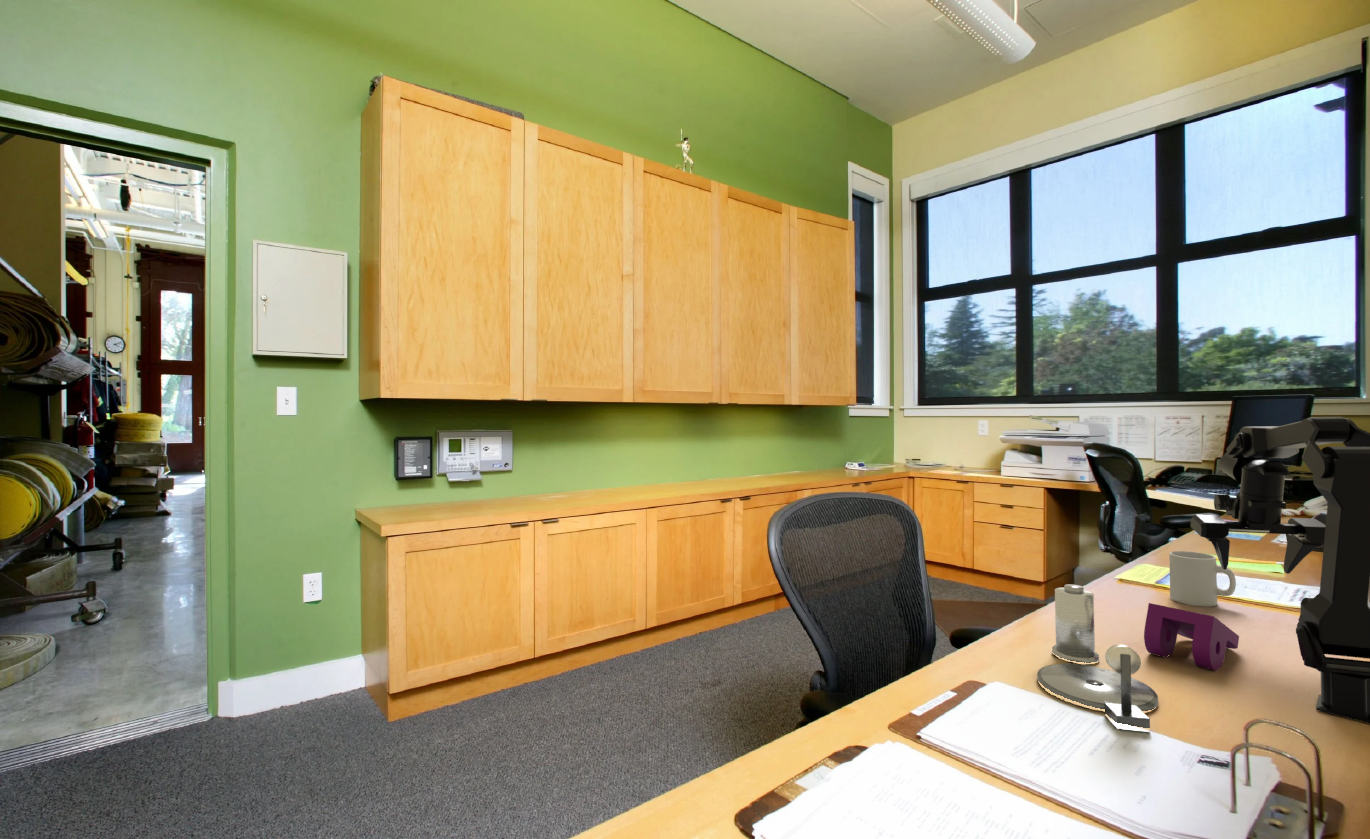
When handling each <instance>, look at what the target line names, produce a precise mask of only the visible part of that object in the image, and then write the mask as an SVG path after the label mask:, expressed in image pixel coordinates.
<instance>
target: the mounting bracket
mask: <svg viewBox="0 0 1370 839" xmlns="http://www.w3.org/2000/svg"><path fill="white" fill-rule="evenodd" d="M1178 635H1179V636H1182V637H1184V638H1187V639H1190V640H1192V643H1191V650H1192V659H1193V662H1194V664H1195V665H1196V666H1197V667H1199V666H1200V668H1203V669H1207V670H1210V671H1215V672H1216V671H1218V670H1219V669H1221V668H1222V667H1223V663H1224V662H1225V657H1226V649H1230V650H1231V649H1233V650H1235V649H1238V648H1239V641H1240V635H1239V634H1237V633H1236V632H1235V631H1233V630H1232V629H1231V628H1229V627H1228V625H1226V624H1225V623H1223V622H1222V621H1221V620H1219V619H1218V618H1217V617H1216V616H1214V615H1210V614H1209V615H1208V614H1204V613H1199V612H1194V611H1189V610H1185V609H1179V608H1175V607H1171V606H1170V607H1169V606H1165V605H1160V604H1156V603H1150V602H1148V606H1147V612H1146V618H1145V624H1144V632H1143V641H1144V646H1145V649H1146V651H1147V652H1148V654H1150V653H1151V654H1150V655H1154V654H1155V655H1154V656H1158V655H1159V657H1162V656H1163V658H1165V657H1166V658H1168V657H1169V656H1168V655H1170V656H1172V655H1173V654H1174V651H1175V648H1176V644H1177V639H1178ZM1171 654H1172V655H1171ZM1167 656H1168V657H1167Z"/></svg>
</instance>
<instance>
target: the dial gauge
mask: <svg viewBox="0 0 1370 839" xmlns="http://www.w3.org/2000/svg"><path fill="white" fill-rule="evenodd" d="M1104 656H1105V661H1106V663H1107V665H1108V667H1110V668H1111V669H1112V671H1115V672H1117V673H1119V674H1121V704H1115V703H1105V713H1106V714H1107V715H1108V716H1109V717H1110V718H1112V719H1113V720H1114V721H1115V722H1117V723H1122V724H1128V725H1131V726H1137V727H1143V728H1150V729H1151V720H1150V719H1151V718H1149V716H1147V715H1146V714H1144V713H1143V712H1142V711H1141V710H1140V709H1139V708H1138V707H1137V706H1136V705H1132V700H1131V677H1132V675H1134V674H1136V673H1137V672H1138V671H1139V670H1140V668H1141V666H1142V659H1141V657H1140V655H1139V653H1137V651H1135V650H1134V649H1132V647H1130V646H1129V645H1127V644H1122V643H1120V644H1117V643H1116V644H1113V645H1111V646H1110V647H1109V648H1108V649H1107V650H1106V652H1105V655H1104ZM1105 713H1104V714H1105Z"/></svg>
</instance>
